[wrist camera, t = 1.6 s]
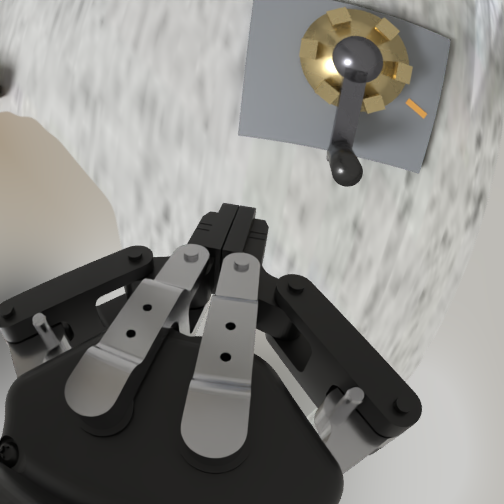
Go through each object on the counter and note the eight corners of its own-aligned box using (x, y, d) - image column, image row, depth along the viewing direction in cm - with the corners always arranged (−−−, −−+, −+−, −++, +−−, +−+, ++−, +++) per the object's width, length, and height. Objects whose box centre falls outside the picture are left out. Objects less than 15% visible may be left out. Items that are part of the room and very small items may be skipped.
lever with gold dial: (306, 3, 20) (308, -18, 14) (407, 29, 20) (443, 22, 13) (285, 144, 30) (280, 174, 23) (378, 164, 29) (401, 199, 22)
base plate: (256, -7, 22) (254, -11, 20) (444, 39, 20) (451, 39, 19) (240, 132, 31) (237, 135, 30) (414, 168, 30) (419, 173, 29)
